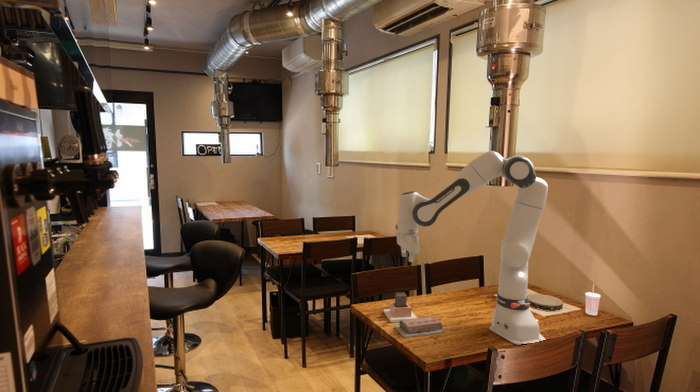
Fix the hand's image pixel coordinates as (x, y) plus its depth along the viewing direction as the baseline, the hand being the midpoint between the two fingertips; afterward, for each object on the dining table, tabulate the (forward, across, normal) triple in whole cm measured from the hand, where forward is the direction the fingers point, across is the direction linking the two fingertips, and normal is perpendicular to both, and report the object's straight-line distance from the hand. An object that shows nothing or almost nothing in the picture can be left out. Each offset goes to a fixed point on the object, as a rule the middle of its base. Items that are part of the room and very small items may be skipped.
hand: (407, 259), depth 182 cm
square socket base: (+26, -1, +3) cm, 26 cm away
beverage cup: (+27, -11, -86) cm, 90 cm away
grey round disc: (+27, +2, -71) cm, 76 cm away
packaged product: (+26, -16, 0) cm, 31 cm away
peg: (+24, -1, +3) cm, 25 cm away
